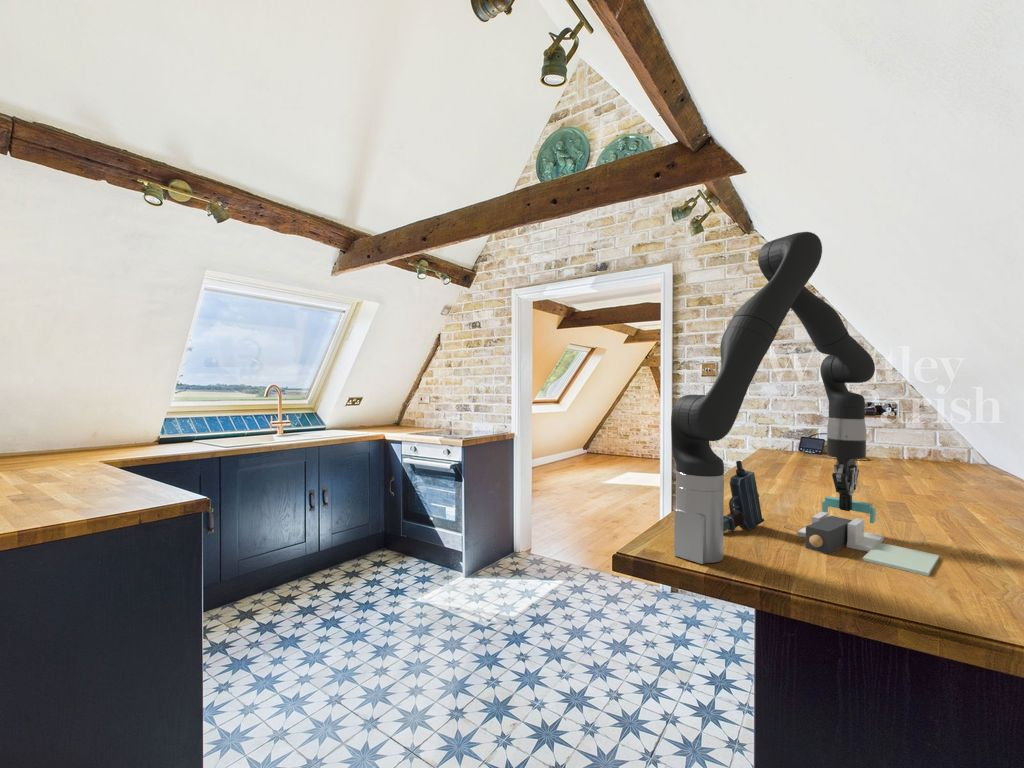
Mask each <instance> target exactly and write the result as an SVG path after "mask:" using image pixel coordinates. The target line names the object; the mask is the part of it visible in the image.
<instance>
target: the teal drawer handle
mask: <svg viewBox="0 0 1024 768" xmlns="http://www.w3.org/2000/svg"><path fill="white" fill-rule="evenodd" d="M873 506H874V505H873V503H871V502H865V501H859V500H854V499H852V510H850V511H852V512H857V513H865V514H869V523H870V524H874V523H876V520H877V519H876V516H877V515H876V514H877V513H876V511H877V509H876V508H874V507H873ZM821 507H822V508H821V512H827V513H828V514H829V508H836V509H840V508H839V497H834V496H829V495H828V496H826V497H824V500H823V501H822V503H821Z"/></svg>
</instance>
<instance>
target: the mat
mask: <svg viewBox="0 0 1024 768" xmlns="http://www.w3.org/2000/svg"><path fill="white" fill-rule="evenodd" d="M939 560H940V554H935V553H931V552H925V551H921V550H917V549H911V548H907V547H902V546H897V545H892V544H887V543H883V542H881V543H878V544H876V545H875V546H874V547H873V548H872V549H871V550H870V551H869V552H867V553H866V554H865V555H863V557H862V562H868V563H871V564H876V565H880V566H884V567H889V568H893V569H898V570H900V571H905V572H910V573H914V574H917V575H922V576H926V577H929V576H930V574H931V573H932V571H933V570H934V568H935V566H936V564H937V563H938V561H939Z"/></svg>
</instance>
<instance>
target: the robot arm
mask: <svg viewBox="0 0 1024 768" xmlns="http://www.w3.org/2000/svg"><path fill="white" fill-rule="evenodd" d="M757 255H758V256H757V261H758V266H759V270H760V271H761V274H762V275H763V276H764V278H765V279H766V280H767V283H766V284H764V286H763V287H762V288H761V289H760V290H758V291H757V292H756V293H755V294H754V295H753V296H751V297H750V298H749V299H748V300H747V301H745V303H743V304H742V305H741V306H740V308H738V310H737V311H735V313H734V315H733V317H731V320H730V321H729V324H728V326H727V327H726V329H725V330H724V333H723V334H722V337H721V340H720V346H719V347H720V362H721V363H720V365H721V366H720V371H719V373H718V375H717V377H716V379H715V381H714V382H713V384H712V386H711V388H710V389H709V391H708V392H707V393H706V394H687V395H683V396H680V397H679V398H678V399H677V400H676V401H675V402H674V405H673V407H672V410H671V416H670V429H671V430H670V431H671V451H672V452H671V453H672V457H673V459H674V462H675V471H676V472H675V510H674V514H673V515H674V517H673V519H674V520H673V521H674V522H673V523H674V525H673V529H674V530H673V532H674V533H673V537H674V538H673V556H675V557H678V558H681V559H684V560H687V561H691V562H694V563H697V564H700V565H704V564H711V563H712V564H713V563H719V562H721V561H723V560H724V532H723V516H725V515H724V510H725V509H724V506H725V504H724V503H725V502H724V499H725V498H724V494H725V493H724V492H725V491H724V489H725V463H724V461H723V459H722V458H721V457H720V456H718V455H717V454H716V453H715V452H714V451H713V450H712V448H711V447H712V446H711V445H710V442H718V441H720V440H723V439H725V437H726V436H727V435H728V434H729V433H730V431H731V430H732V428H733V426H734V424H735V421H736V419H737V417H738V415H739V413H740V410H741V407H742V405H743V402H744V400H745V397H746V395H747V392H748V389H749V387H750V386H751V385H750V384H752V382H753V379H754V376H755V375H756V373H757V371H758V369H759V367H760V365H761V363H762V360H763V359H764V357H765V355H767V353H768V350H769V349H770V347H771V346H772V344H773V342H774V340H775V337H776V336H777V334H778V332H779V330H780V328H781V325H782V324H783V322H784V321H785V318H786V317H787V315H788V313H789V311H790V309H791V311H792V312H793V313H794V314H795V315H796V317H797V318H798V319H799V321H800V322H801V323H802V325H803V328H804V329H805V330H806V333H807V334H808V336H809V338H810V340H811V341H812V343H813V345H814V347H815V349H816V350H817V351H818V352H819V353H820V354H822V355H827V356H825V357H824V359H823V360H822V362H821V364H820V369H819V370H820V377H821V380H822V383H823V386H824V390H825V393H826V396H827V400H828V422H827V426H826V428H827V431H826V433H827V434H826V435H827V436H826V437H827V438H826V440H827V441H826V454H827V456H829V457H832V458H836V464H834V465H833V472H832V474H831V477H832V480H833V485H834V489H835V492H836V493H837V494H838V495H839V497H838V498H839V508H838V509H839V510H840V511H846V512H850V511H851V510H852V500H853V495H854V492H855V491H856V489H857V483H858V478H859V473H860V470H859V466H858V465H856V464H857V463H856V462H857V461H856V460H863V459H864V460H865V458H866V457H867V426H866V415H865V414H866V400H865V397H864V396H863V395H862V394H860V393H856V392H852V391H849V390H848V387H847V385H846V384H860V383H866V382H868V381H870V380H871V379H873V377H874V375H875V372H876V366H875V365H876V364H875V361H874V360H873V357H872V356H871V354H870V353H869V352H868V351H867V350H866V349H865V348H864V347H863V346H862V345H861V344H860V343H859V342H858V341H857V340H856V339H854V338H853V336H852V335H850V333H849V331H848V330H847V327H846V325H845V324H844V322H843V320H842V318H841V316H840V315H839V313H838V312H837V311H836V309H834V307H832V306H831V305H830V304H828V303H827V302H825V300H823V299H822V298H821V297H820V296H817V295H816V294H815V293H813V292H812V291H811V290H809V288H807V287H806V285H807V283H808V282H809V280H811V277H812V276H813V275H814V274H815V271H816V270H817V268H818V266H819V264H820V263H821V262H820V261H821V258H822V255H823V245H822V241H821V239H820V237H819V236H818V235H817V234H816V233H814V232H810V231H801V232H796V233H792V234H789V235H786V236H782V237H778V238H776V239H773V240H770V241H767V242H766V243H765V244H763V245H762V246H761V248H760V250H759V251H758V254H757Z"/></svg>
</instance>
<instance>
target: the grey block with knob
mask: <svg viewBox="0 0 1024 768" xmlns="http://www.w3.org/2000/svg"><path fill="white" fill-rule="evenodd" d="M852 520H853V519H849V518H843V517H840V516H835V515H834V516H833V515H830V516H828V517H827V518H825V519H822V520H820V521H817V522H815V523H813V524H811V523H809V524H810V525H809V524H807V525H806V526H805V527H806V538H805V549H807V550H811V551H815V552H818V553H822V554H825V555H826V554H827V555H830V554H833V552H836V551H838V550H839V549H841V548H843V547H845V546H847V540H848V523H850V522H851V521H852Z"/></svg>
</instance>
